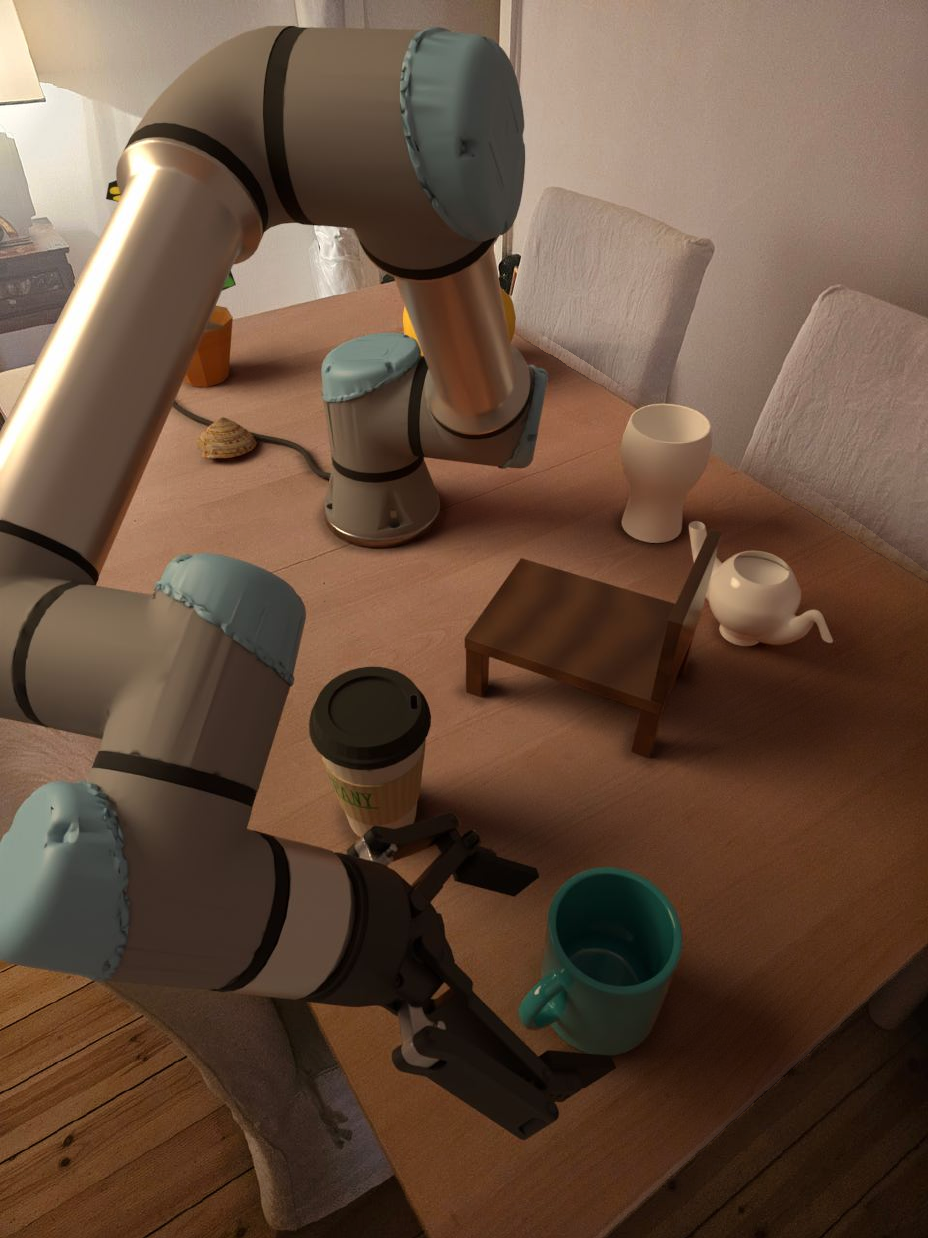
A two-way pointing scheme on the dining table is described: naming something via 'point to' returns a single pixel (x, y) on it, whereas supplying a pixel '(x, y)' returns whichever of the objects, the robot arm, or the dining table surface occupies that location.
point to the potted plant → (205, 336)
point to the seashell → (225, 440)
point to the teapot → (756, 597)
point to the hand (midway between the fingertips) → (559, 969)
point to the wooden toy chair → (592, 635)
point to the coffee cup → (372, 744)
